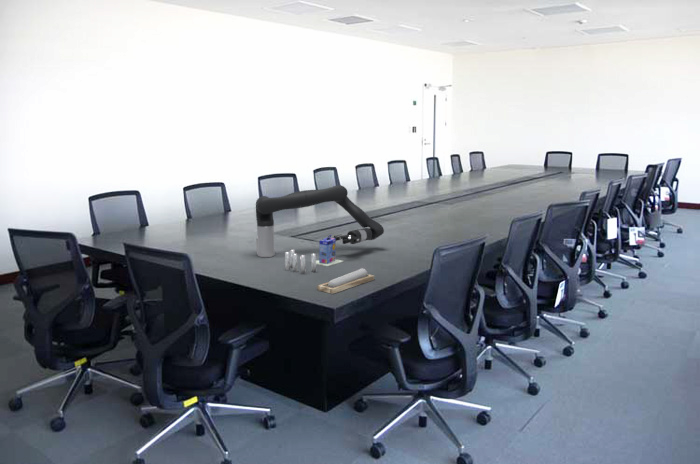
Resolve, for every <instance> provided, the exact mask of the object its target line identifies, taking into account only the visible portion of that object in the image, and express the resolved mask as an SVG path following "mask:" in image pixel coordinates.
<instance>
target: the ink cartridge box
mask: <svg viewBox="0 0 700 464" xmlns="http://www.w3.org/2000/svg"><path fill="white" fill-rule="evenodd" d="M336 242H337V241H336V238H333V237H332V234H329V235H328V236H327V237H325V238H322V239H320V240H319V246H318V247H319V251H318V252H319V254H318V255H319V256H318V258H319V259H318V260H319V263H325V264H328V263H330V262H333V261H335V259H336V251H337V249H336V247H337V245H336Z"/></svg>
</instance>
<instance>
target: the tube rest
mask: <svg viewBox="0 0 700 464" xmlns="http://www.w3.org/2000/svg"><path fill="white" fill-rule="evenodd" d="M374 280H375V275H373V274H368V276H367V277H364V278H361V279H358V280H355V281H352V282H349V283H346V284H343V285H340V286H337V287H334V288H330V287H328V283H329V282H330V281H326V282H324V283H321V284H318V285H317V286H316V287H317V289H316V290H317V291H319V292H320V291H321V292H324V293H328V294H331V295H333V294H336V293H339V292H340V293H341V292H342V291H344V290H347V289H348V290H349V289H351V288H354V287H357V286H360V285H363V284H366V283H368V282H371V281H374Z"/></svg>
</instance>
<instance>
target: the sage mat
mask: <svg viewBox="0 0 700 464" xmlns="http://www.w3.org/2000/svg"><path fill="white" fill-rule="evenodd" d="M341 263H344V260H340V259H336V258H335V261H333V262H330V263H328V264H325V263H319V259H316V266H324V267H330V266H334V265H338V264H341Z"/></svg>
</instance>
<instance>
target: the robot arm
mask: <svg viewBox="0 0 700 464" xmlns="http://www.w3.org/2000/svg"><path fill="white" fill-rule="evenodd" d="M328 202H335V203H336V204H337V205H339V206H340V207H341V208H343V210H345V212H347V213H348V214H349V215H350V216H351V218H353V219H354V221H356V222H357V223H358V224H359V225H360V227H362V228H358V229H353V230H349V231H348V232H347V233H346V234H337V235H333V237H332V238H336V242H340V243H341V242H342V244H343V245H345V244H351V245H355V244H359V243H360V244H361V243H363V242H364V241H374V240H376V239H377V238H379V237H381V236H383V234H384V232H385V229H384V227H383V226H382V225H381V223H379V222H377V221H376V220H374V219H373V218H371V217H370V216H369V215H368V214H367V213H366V212H365V211H364V210H363V209H362V208H360V207H359V206H358V205H356V204H355V203H354V202H353V201H352V200H351V199H350V198H349V197H348V189H347V188H346V187H345V186H344V185H340V184H337V185H333V186H331V187H327V188H322V189H307V190H298V191H294V192H291V193H288V194H286V195H283V196H277V197H268V196H267V195H262V196H260V197H258V198H257V199H256V202H255V219H256V220H255V221H256V229H257V231H256V232H257V238H256V255H257V256H258V257H260V258H271V257H275V256H276V255H275V253H276V252H275V250H276V249H275V222H274V216H273V214H274V213H277V212H279V211H284V210H293V209H303V208H308V207H312V206H316V205H319V204H323V203H328Z"/></svg>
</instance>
